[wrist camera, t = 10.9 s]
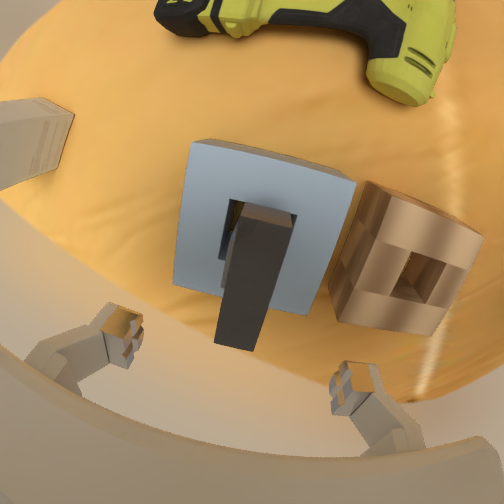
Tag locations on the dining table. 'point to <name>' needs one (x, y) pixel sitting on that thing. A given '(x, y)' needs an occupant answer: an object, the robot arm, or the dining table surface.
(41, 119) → the supplement box
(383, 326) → the stand
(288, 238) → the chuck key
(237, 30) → the cordless drill
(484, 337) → the dining table surface
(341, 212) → the block
